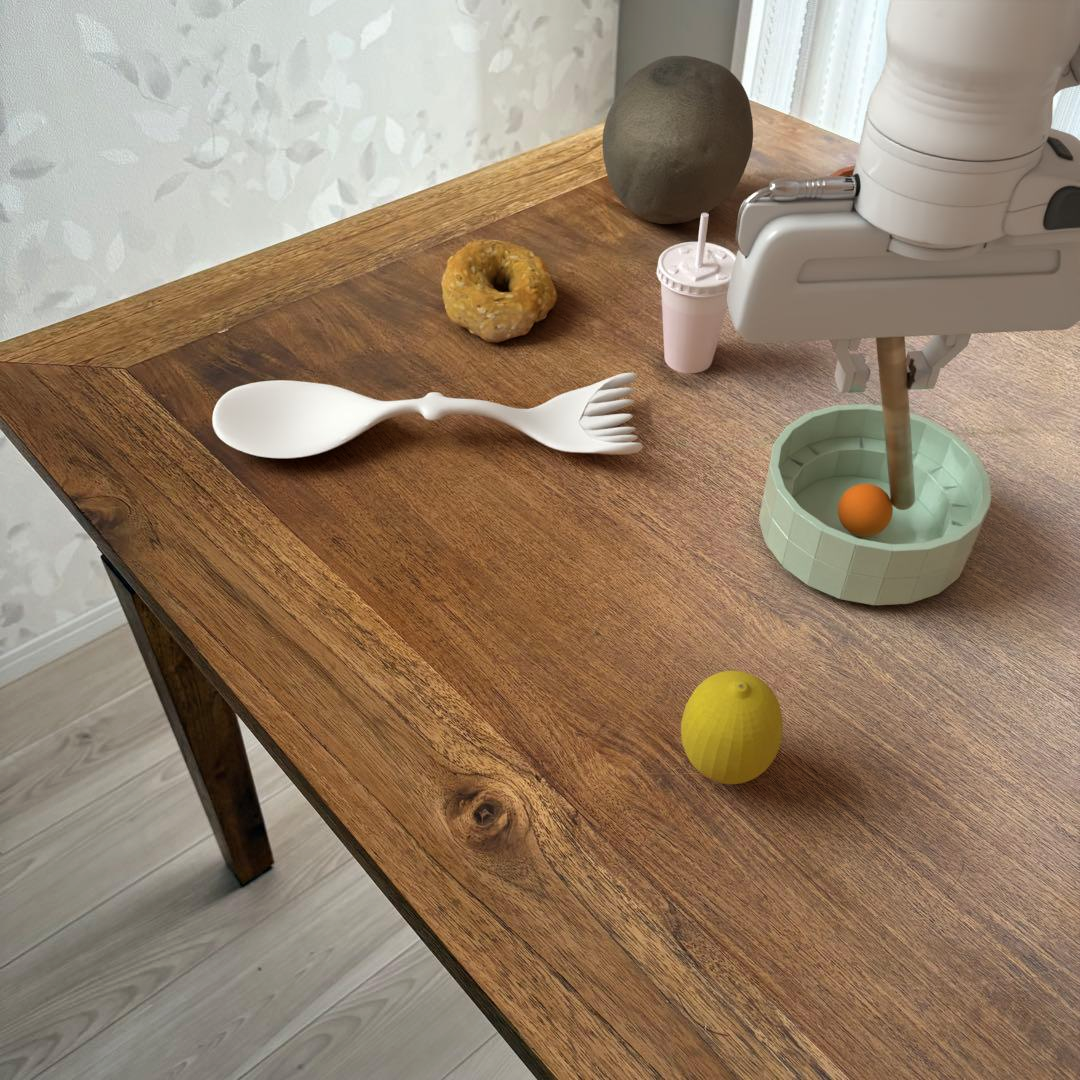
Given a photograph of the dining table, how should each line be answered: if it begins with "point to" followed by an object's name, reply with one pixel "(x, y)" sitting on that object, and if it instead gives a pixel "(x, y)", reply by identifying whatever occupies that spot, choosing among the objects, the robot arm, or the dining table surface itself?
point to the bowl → (913, 534)
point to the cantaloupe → (677, 139)
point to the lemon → (732, 727)
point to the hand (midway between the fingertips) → (883, 385)
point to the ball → (865, 510)
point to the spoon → (340, 415)
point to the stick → (896, 420)
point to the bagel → (497, 289)
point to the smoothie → (693, 300)
